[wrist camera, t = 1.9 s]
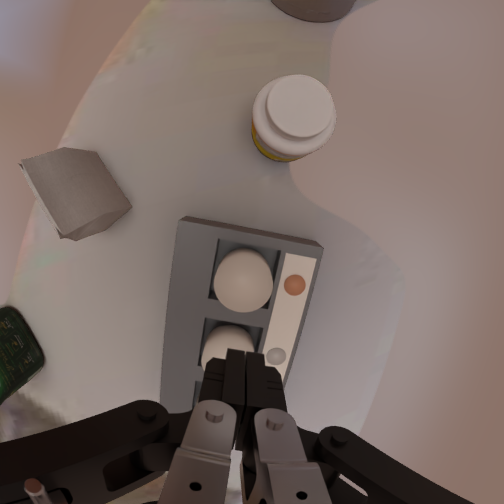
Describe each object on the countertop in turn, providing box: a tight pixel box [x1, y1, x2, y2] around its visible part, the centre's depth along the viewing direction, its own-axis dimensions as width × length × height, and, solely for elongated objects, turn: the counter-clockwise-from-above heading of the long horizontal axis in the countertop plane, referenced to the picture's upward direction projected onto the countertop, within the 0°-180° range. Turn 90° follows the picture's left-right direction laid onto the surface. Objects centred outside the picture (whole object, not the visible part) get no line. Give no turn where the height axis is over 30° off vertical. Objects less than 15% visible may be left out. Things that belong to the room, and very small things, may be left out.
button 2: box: [214, 248, 273, 312], centre depth 25 cm, size 4×4×3 cm
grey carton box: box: [19, 147, 132, 241], centre depth 22 cm, size 4×7×10 cm, turn 35°
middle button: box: [201, 325, 254, 372], centre depth 26 cm, size 4×4×3 cm
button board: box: [160, 216, 324, 413], centre depth 28 cm, size 21×12×3 cm, turn 169°
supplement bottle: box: [252, 74, 336, 162], centre depth 21 cm, size 6×6×10 cm
